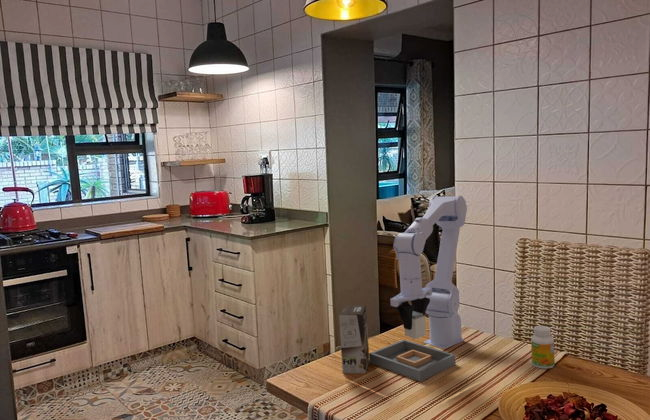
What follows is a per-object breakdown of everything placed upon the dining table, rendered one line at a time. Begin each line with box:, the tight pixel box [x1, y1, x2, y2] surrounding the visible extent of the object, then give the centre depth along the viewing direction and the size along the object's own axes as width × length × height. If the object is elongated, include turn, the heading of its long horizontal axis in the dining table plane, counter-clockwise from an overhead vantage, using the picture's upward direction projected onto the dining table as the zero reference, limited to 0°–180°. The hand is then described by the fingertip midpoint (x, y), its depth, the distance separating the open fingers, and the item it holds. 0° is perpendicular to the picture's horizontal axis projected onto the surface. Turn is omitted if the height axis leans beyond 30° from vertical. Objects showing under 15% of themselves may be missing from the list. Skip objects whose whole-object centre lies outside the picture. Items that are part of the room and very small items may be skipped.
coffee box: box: [338, 304, 370, 374], centre depth 137 cm, size 9×6×16 cm
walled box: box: [369, 339, 457, 382], centre depth 136 cm, size 14×18×3 cm
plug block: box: [404, 311, 427, 340], centre depth 137 cm, size 4×4×6 cm
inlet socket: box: [396, 350, 432, 367], centre depth 139 cm, size 7×7×1 cm
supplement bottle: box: [530, 325, 556, 369], centre depth 130 cm, size 5×5×10 cm
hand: (413, 326), depth 137 cm, fingers closed on plug block, 4 cm apart
